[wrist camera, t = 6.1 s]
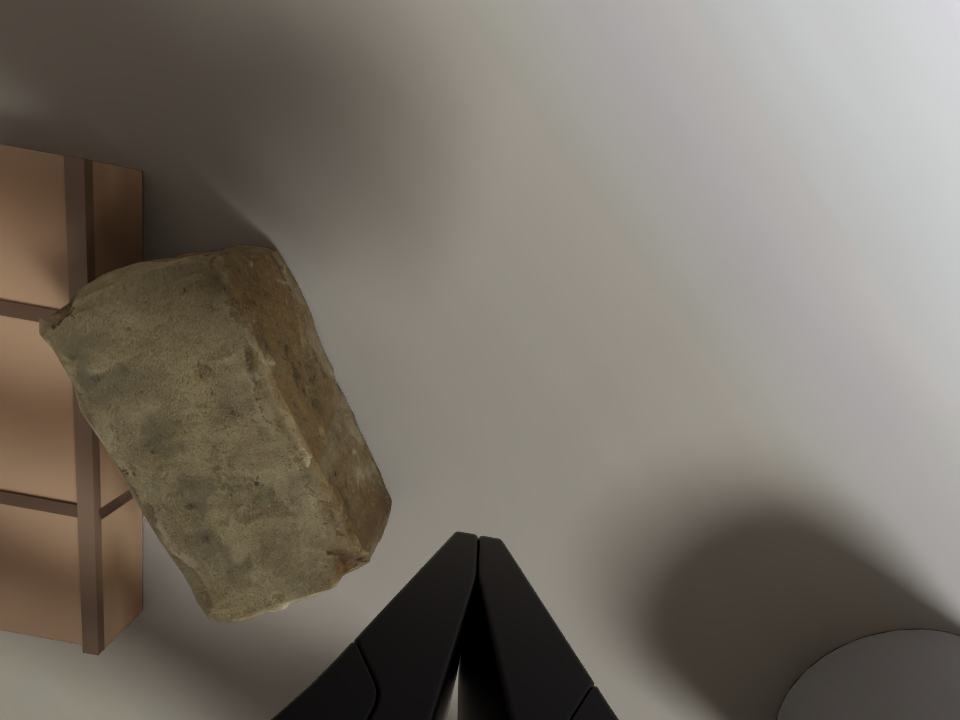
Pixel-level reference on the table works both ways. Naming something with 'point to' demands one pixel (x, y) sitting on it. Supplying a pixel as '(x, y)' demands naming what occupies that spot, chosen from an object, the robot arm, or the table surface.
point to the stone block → (225, 424)
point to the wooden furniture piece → (61, 406)
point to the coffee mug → (882, 680)
